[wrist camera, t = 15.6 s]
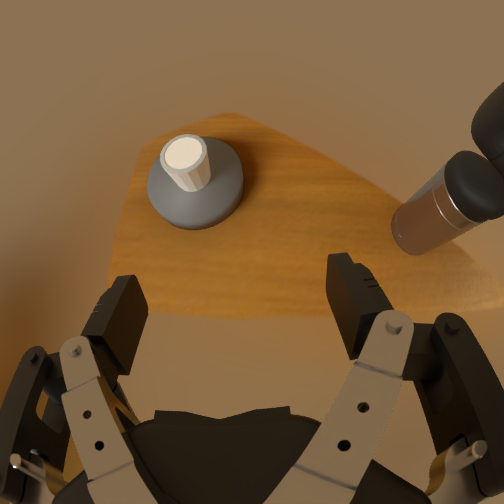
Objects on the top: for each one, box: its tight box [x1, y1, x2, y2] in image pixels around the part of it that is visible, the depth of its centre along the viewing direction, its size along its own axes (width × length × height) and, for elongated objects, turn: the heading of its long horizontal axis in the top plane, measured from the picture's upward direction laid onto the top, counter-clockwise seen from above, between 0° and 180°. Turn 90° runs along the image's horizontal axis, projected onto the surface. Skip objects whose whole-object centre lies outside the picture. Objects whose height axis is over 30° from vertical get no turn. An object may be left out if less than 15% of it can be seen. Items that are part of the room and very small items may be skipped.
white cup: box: [160, 134, 211, 192], centre depth 39 cm, size 7×7×7 cm
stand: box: [147, 137, 244, 230], centre depth 44 cm, size 16×16×4 cm
